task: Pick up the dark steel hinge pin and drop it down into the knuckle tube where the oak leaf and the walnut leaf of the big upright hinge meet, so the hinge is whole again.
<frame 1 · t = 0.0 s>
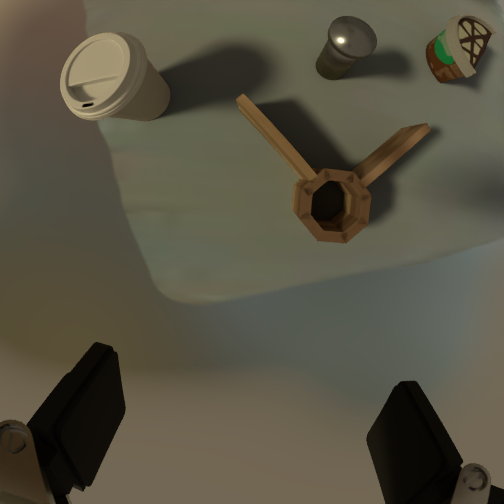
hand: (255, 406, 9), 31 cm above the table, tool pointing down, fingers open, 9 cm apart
food container: (436, 52, 30), on the table
hinge: (323, 199, 37), on the table
coffee cup: (148, 99, 34), on the table
pin: (330, 67, 32), on the table
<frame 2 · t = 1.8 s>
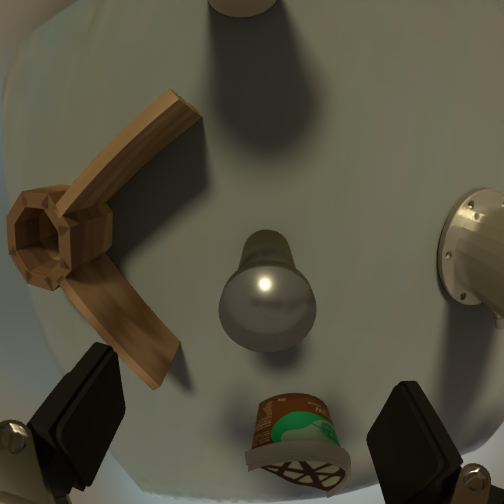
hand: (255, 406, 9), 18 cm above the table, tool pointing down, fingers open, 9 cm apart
food container: (306, 406, 31), on the table
hinge: (79, 224, 25), on the table
pin: (266, 252, 25), on the table
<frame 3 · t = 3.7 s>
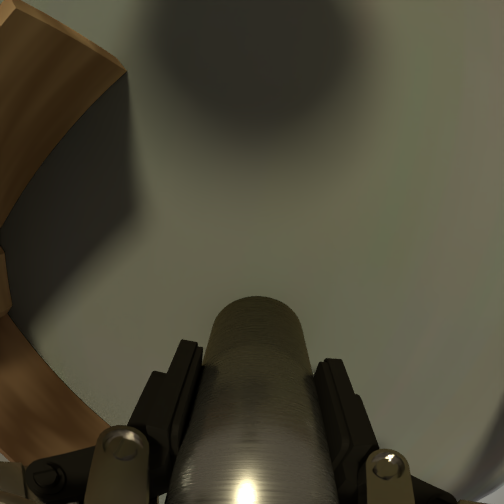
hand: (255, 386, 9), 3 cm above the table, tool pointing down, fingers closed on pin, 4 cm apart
pin: (257, 337, 13), on the table, touching gripper
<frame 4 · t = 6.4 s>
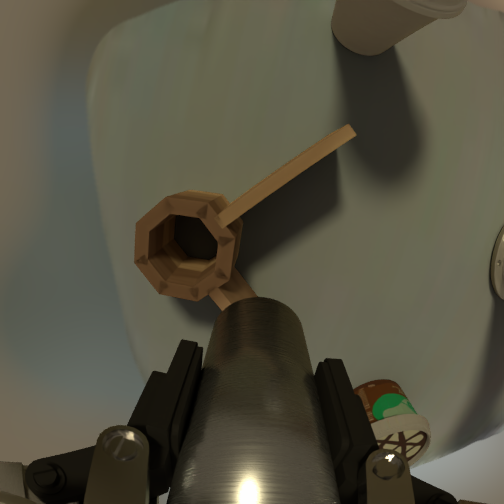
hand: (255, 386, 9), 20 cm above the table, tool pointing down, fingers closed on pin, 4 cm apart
food container: (386, 391, 34), on the table
hinge: (201, 231, 29), on the table
coffee cup: (360, 30, 22), on the table
pin: (257, 337, 13), point 17 cm above the table, touching gripper
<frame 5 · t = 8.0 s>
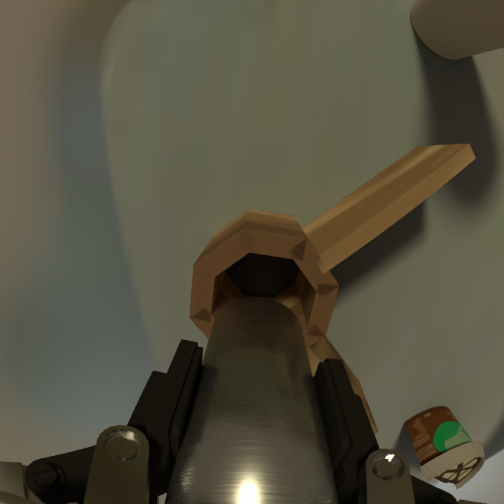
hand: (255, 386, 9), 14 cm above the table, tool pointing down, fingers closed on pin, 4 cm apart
food container: (436, 416, 28), on the table
hinge: (263, 263, 23), on the table
coffee cup: (438, 30, 16), on the table
pin: (256, 338, 13), point 10 cm above the table, touching gripper
when the fingers open (9 cm above the table, at t = 9.3 s): pin drops 3 cm, resting in hinge.
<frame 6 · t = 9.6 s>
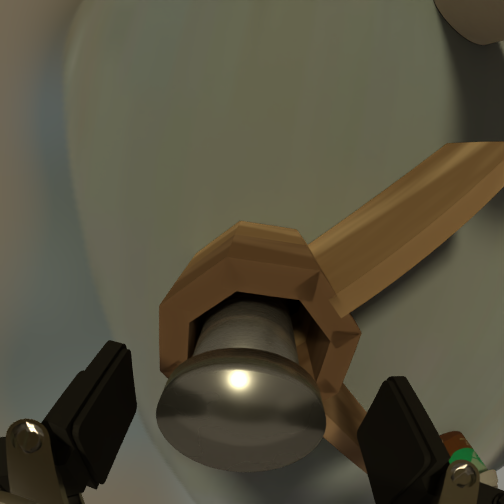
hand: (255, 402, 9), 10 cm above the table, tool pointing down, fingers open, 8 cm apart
food container: (448, 441, 23), on the table
hinge: (257, 288, 18), on the table
coffee cup: (462, 11, 12), on the table
pin: (251, 287, 18), resting in hinge
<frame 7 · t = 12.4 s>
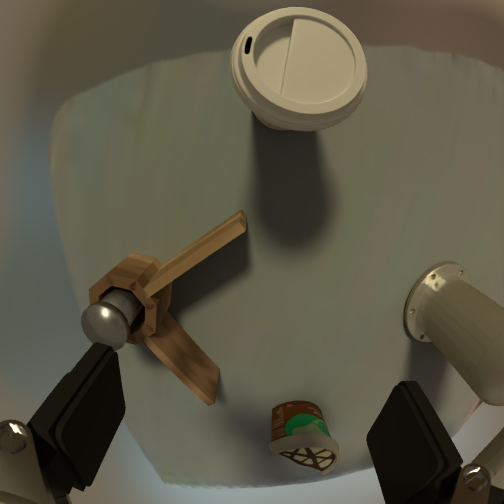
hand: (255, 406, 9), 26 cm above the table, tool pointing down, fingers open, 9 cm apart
food container: (306, 409, 42), on the table
hinge: (141, 285, 35), on the table
coffee cup: (281, 102, 29), on the table
pin: (139, 284, 35), resting in hinge
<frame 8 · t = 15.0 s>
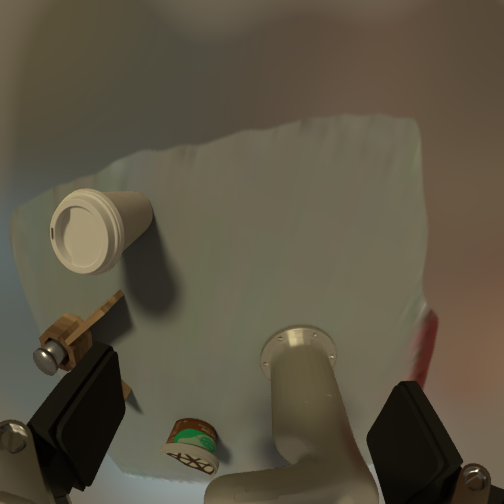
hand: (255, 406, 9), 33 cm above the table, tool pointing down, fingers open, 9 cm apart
food container: (202, 425, 53), on the table
hinge: (75, 332, 47), on the table
coffee cup: (133, 213, 41), on the table
pin: (73, 332, 47), resting in hinge
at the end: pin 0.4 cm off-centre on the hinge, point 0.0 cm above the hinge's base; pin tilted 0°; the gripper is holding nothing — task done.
